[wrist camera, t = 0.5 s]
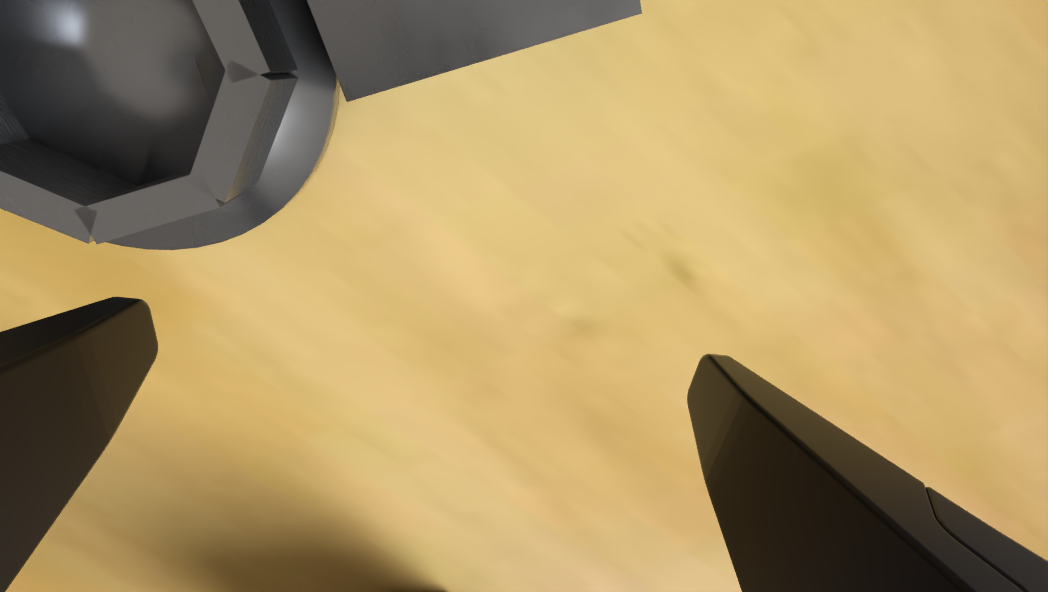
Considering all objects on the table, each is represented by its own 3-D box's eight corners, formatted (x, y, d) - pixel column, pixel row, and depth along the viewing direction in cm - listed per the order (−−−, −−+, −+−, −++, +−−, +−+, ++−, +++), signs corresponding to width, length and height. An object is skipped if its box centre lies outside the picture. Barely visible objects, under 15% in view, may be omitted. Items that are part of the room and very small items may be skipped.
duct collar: (67, 283, 21) (-13, 328, 18) (-228, -133, 16) (-436, -191, 12) (633, 114, 21) (668, 125, 18) (549, -371, 15) (576, -505, 12)
